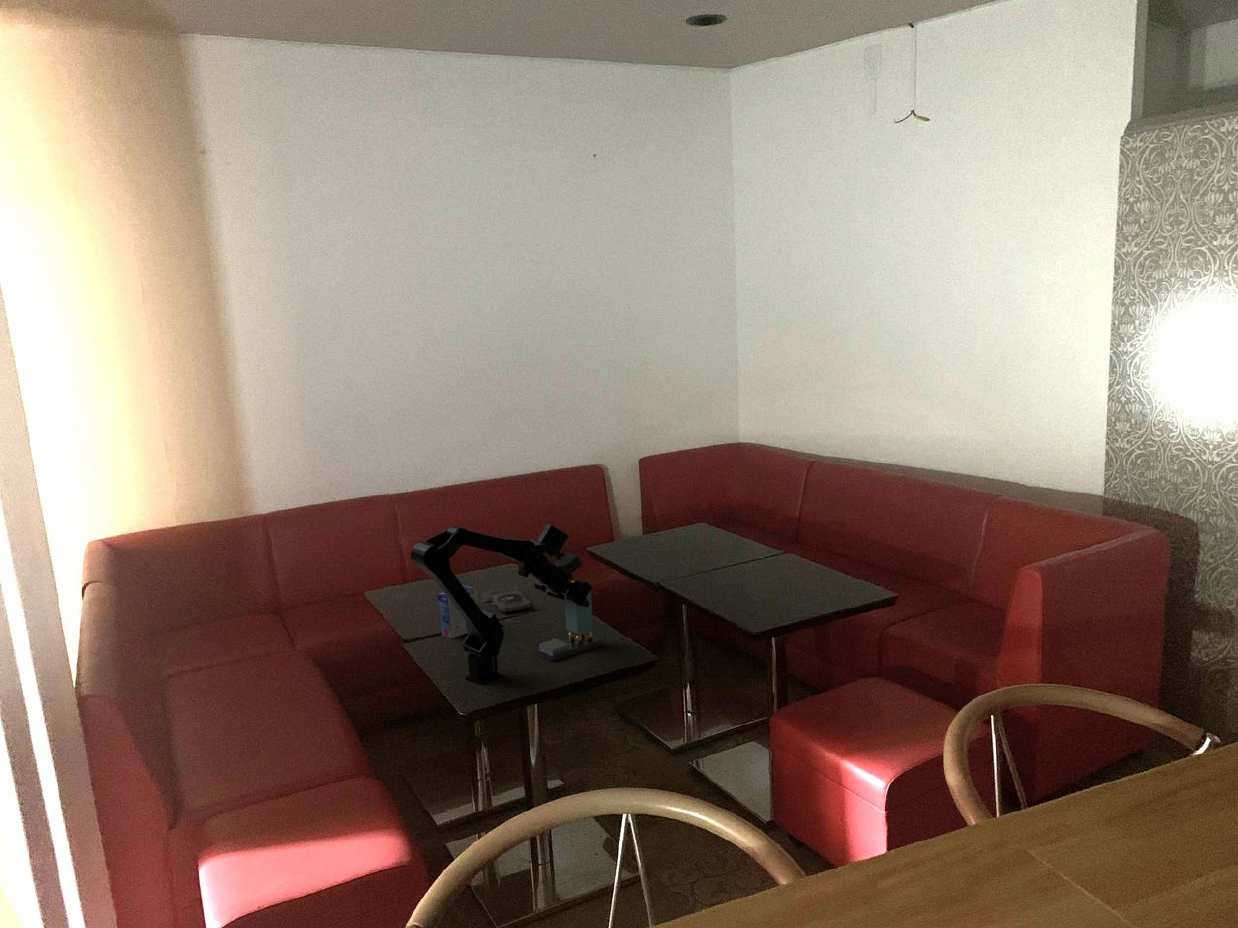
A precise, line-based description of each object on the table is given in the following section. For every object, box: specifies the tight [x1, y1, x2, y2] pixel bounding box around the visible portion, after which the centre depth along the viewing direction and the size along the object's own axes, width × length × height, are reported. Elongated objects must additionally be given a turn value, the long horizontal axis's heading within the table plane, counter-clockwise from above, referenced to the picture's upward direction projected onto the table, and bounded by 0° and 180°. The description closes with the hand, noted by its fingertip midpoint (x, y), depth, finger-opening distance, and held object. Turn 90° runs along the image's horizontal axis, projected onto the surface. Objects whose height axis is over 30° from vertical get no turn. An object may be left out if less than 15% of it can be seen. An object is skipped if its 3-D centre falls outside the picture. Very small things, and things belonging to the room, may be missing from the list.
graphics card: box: [480, 586, 532, 613], centre depth 284 cm, size 17×4×12 cm
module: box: [563, 580, 594, 635], centre depth 247 cm, size 5×5×12 cm
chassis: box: [533, 631, 603, 662], centre depth 246 cm, size 16×8×4 cm, turn 129°
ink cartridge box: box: [436, 584, 478, 639], centre depth 262 cm, size 10×6×14 cm, turn 137°
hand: (582, 603), depth 247 cm, fingers closed on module, 5 cm apart
